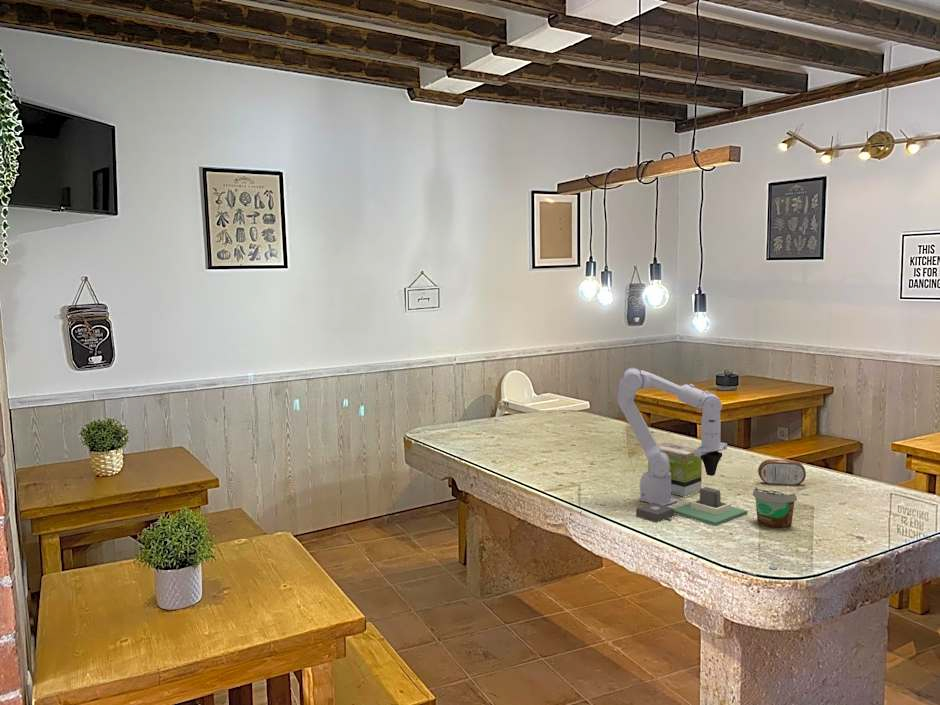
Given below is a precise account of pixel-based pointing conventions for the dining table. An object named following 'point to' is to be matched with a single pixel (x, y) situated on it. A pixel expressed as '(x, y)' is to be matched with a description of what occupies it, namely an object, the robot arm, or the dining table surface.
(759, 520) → the food container
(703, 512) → the board
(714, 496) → the plug
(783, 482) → the tin
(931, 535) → the dining table surface
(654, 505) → the grey flat block
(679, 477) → the tea box
